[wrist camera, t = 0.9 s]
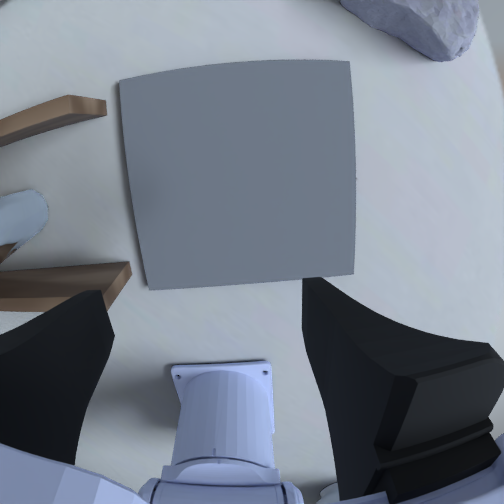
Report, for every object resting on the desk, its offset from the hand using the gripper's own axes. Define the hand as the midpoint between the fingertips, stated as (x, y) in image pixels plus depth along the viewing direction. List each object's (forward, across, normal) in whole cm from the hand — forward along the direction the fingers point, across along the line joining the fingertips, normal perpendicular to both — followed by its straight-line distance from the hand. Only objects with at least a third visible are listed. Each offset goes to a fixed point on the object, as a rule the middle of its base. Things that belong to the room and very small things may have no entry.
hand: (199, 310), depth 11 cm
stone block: (+11, -14, -18) cm, 25 cm away
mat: (+10, -2, -3) cm, 11 cm away
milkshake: (+11, +14, -3) cm, 18 cm away
